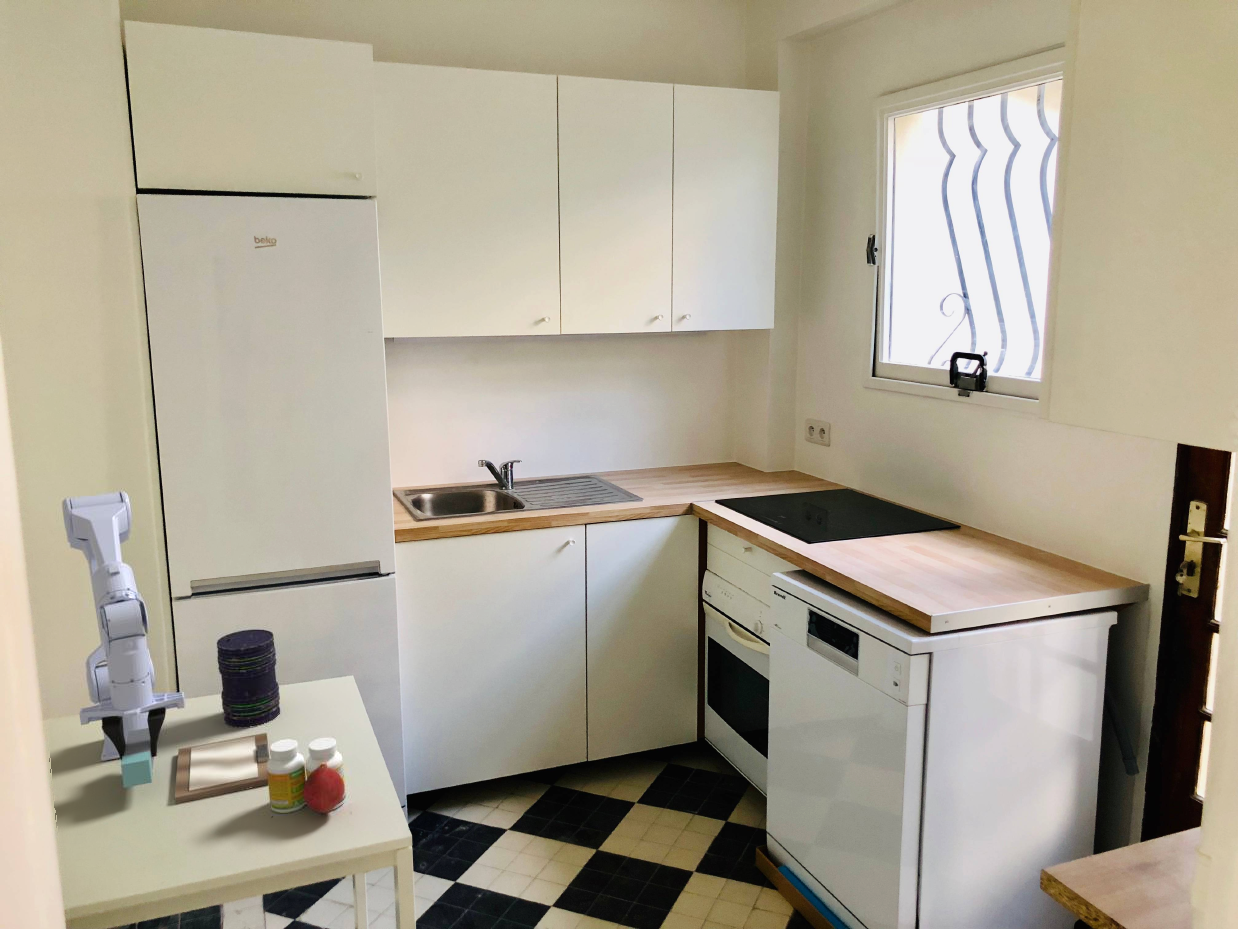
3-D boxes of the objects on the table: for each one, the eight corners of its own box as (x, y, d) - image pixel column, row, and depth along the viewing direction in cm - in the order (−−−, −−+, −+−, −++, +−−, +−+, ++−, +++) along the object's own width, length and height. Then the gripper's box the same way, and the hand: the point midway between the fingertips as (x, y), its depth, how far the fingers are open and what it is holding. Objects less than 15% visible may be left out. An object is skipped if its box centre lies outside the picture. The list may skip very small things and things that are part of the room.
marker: (130, 748, 156) (128, 727, 155) (156, 744, 157) (153, 722, 156) (123, 788, 143) (120, 765, 143) (151, 782, 145) (148, 759, 144)
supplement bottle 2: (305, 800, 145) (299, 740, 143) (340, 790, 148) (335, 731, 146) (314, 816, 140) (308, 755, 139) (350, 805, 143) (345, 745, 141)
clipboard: (179, 754, 160) (178, 744, 160) (267, 738, 165) (266, 728, 165) (175, 803, 145) (174, 792, 144) (272, 783, 150) (271, 773, 150)
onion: (310, 828, 137) (306, 777, 136) (301, 810, 142) (296, 760, 140) (350, 815, 140) (347, 765, 139) (339, 798, 145) (336, 750, 143)
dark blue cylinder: (286, 702, 180) (279, 627, 177) (274, 725, 170) (267, 647, 167) (231, 706, 178) (224, 631, 175) (216, 730, 169) (208, 650, 166)
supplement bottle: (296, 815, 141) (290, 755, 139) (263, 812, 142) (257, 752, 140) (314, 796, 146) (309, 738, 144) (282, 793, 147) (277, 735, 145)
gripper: (73, 694, 141) (84, 778, 143) (180, 677, 146) (189, 758, 149) (79, 676, 147) (89, 757, 150) (181, 661, 153) (190, 739, 155)
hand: (139, 756), depth 150 cm, fingers closed on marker, 4 cm apart
